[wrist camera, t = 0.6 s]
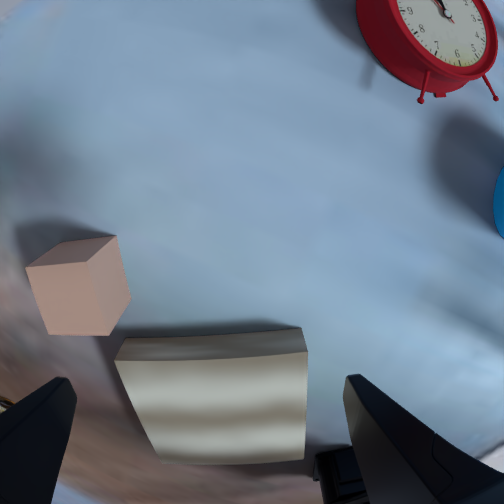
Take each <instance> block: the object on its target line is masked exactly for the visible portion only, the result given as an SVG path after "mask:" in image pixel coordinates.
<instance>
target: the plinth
mask: <svg viewBox="0 0 504 504" xmlns="http://www.w3.org/2000/svg"><path fill="white" fill-rule="evenodd" d="M114 362H115V365H116V367H117V370H118V372H119V374H120V377H121V379H122V382H123V384H124V386H125V389H126V391H127V393H128V396H129V398H130V400H131V402H132V405H133V407H134V409H135V411H136V413H137V415H138V417H139V419H140V422H141V424H142V426H143V428H144V430H145V432H146V434H147V436H148V438H149V440H150V442H151V443H152V445H153V447H154V449H155V451H156V453H157V455H158V457H159V458H160V460H161V462H162V463H167V464H187V465H239V464H258V463H272V462H283V461H292V460H301V459H304V449H305V430H306V407H307V374H308V350H307V346H306V343H305V339H304V336H303V332H302V328H296V329H286V330H275V331H264V332H253V333H240V334H225V335H208V336H188V337H160V338H125V340H124V342H123V344H122V346H121V348H120V350H119V352H118V354H117V355H116V357H115V359H114Z"/></svg>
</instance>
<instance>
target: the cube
mask: <svg viewBox="0 0 504 504" xmlns="http://www.w3.org/2000/svg"><path fill="white" fill-rule="evenodd" d="M25 268H26V272H27V275H28V278H29V281H30V284H31V287H32V290H33V293H34V296H35V299H36V302H37V305H38V307H39V310H40V313H41V315H42V318H43V321H44V323H45V326H46V328H47V331H48V333H49V335H82V336H109V335H110V333H111V332H112V330H113V328H114V327H115V325H116V323H117V322H118V320H119V318H120V317H121V315H122V314H123V312H124V310H125V309H126V307H127V305H128V304H129V302H130V301H131V295H130V292H129V288H128V284H127V280H126V276H125V271H124V267H123V263H122V259H121V254H120V249H119V245H118V240H117V236H108V237H100V238H92V239H84V240H76V241H68V242H61V243H59V244H58V245H56V246H55V247H53V248H52V249H50V250H49V251H48V252H46V253H45V254H43V255H42V256H40V257H39V258H38V259H36V260H35V261H33V262H32V263H31V264H29V265H28V266H27V267H25Z"/></svg>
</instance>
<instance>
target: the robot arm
mask: <svg viewBox="0 0 504 504" xmlns="http://www.w3.org/2000/svg"><path fill="white" fill-rule="evenodd" d="M343 402H344V407H345V412H346V417H347V422H348V428H349V433H350V438H351V442H352V446H353V448H349V449H344V450H338V451H333V452H327V453H320V454H317V455H316V456H315V462H314V471H313V481H320V486H321V491H322V497H323V502H324V504H504V473H502V472H499V471H497V470H495V469H493V468H491V467H489V466H488V465H486V464H484V463H482V462H480V461H479V460H477V459H475V458H473V457H471V456H470V455H468V454H466V453H465V452H463V451H461V450H460V449H458V448H456V447H455V446H454V445H452V444H451V443H449V442H448V441H446V440H445V439H444V438H442V437H441V436H440V435H438V434H437V433H435V432H434V431H433V430H432V429H430V428H429V427H428V426H426V425H425V424H424V423H422V422H421V421H420V420H418V419H417V418H416V417H415V416H413V415H412V414H411V413H409V412H408V411H407V410H406V409H404V408H403V407H402V406H400V405H399V404H398V403H396V402H395V401H394V400H393V399H391V398H390V397H389V396H388V395H386V394H385V393H384V392H382V391H381V390H380V389H379V388H377V387H376V386H375V385H373V384H372V383H371V382H370V381H368V380H367V379H366V378H365V377H363V376H362V375H361V374H354V375H348V376H347V377H346V380H345V386H344V392H343ZM76 403H77V396H76V393H75V391H74V389H73V387H72V385H71V383H70V381H69V379H68V378H66V377H55V378H54V379H52V380H51V381H49V382H48V383H46V384H45V385H43V386H42V387H40V388H39V389H37V390H36V391H34V392H33V393H31V394H29V395H28V396H26V397H25V398H23V399H22V400H20V401H19V402H17V403H16V404H14V405H13V406H11V407H10V408H8V409H7V410H5V411H4V412H2V413H0V504H51V502H52V498H53V493H54V489H55V486H56V482H57V478H58V474H59V471H60V467H61V463H62V460H63V456H64V453H65V450H66V446H67V443H68V440H69V436H70V432H71V427H72V422H73V417H74V412H75V408H76Z"/></svg>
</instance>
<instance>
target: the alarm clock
mask: <svg viewBox="0 0 504 504" xmlns="http://www.w3.org/2000/svg"><path fill="white" fill-rule="evenodd" d="M356 14H357V20H358V24H359V27H360V30H361V32H362V35H363V37H364V39H365V41H366V43H367V44H368V46H369V48H370V49H371V50H372V52H373V53H374V55H375V56H376V57H377V58H378V60H379V61H380V62H381V63H382V64H383V65H384V66H385V67H386V68H387V69H388V70H389V71H390V72H391V73H392V74H394V75H395V76H396V77H397V78H399V79H400V80H402V81H403V82H405V83H406V84H408V85H410V86H412V87H414V88H417V89H419V90H421V94H420V97H419V98H418V99H417V101H418V103H420V104H423V103H424V99H423V96H424V93H425V91H426V92H430V93H436V98H437V97H446V93H447V92H452V91H455V90H457V89H460V88H461V87H463V86H464V85H465V84H466V83H467V82H468V81H471V80H475V79H478V78H480V77H482V78H483V79H484V81H485V83H486V85H487V86H488V87H489V89H490V91H491V93H492V95H493V100H494V101H498V100H499V98H498V96H496V95H495V93H494V91H493V89H492V87H491V85H490V83H489V81H488V79H487V77H486V76H485V73H486V72H488V71H489V70H490V68H491V67H492V66H493V64H494V62H495V59H496V56H497V50H498V39H497V32H496V28H495V24H494V21H493V18H492V16H491V14H490V12H489V10H488V8H487V6H486V4H485V3H484V1H483V0H356Z"/></svg>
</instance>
